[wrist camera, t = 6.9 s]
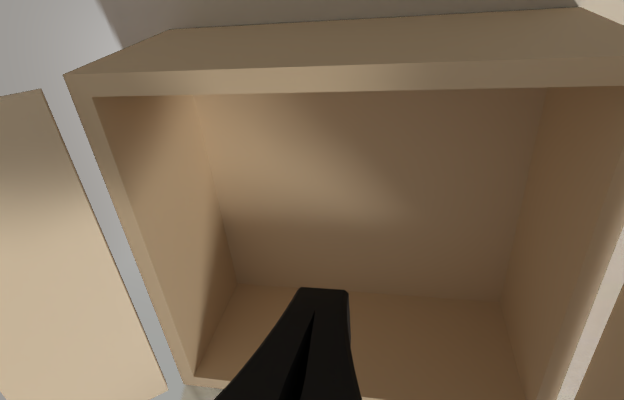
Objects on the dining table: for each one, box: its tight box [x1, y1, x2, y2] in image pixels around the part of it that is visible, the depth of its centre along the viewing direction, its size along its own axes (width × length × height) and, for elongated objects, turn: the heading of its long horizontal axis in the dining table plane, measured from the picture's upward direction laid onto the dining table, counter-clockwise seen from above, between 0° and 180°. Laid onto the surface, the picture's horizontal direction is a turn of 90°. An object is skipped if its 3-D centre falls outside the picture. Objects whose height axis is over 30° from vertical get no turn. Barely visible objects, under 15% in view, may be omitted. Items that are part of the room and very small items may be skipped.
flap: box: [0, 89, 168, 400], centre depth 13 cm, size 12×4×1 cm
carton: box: [63, 7, 624, 400], centre depth 15 cm, size 13×14×6 cm
